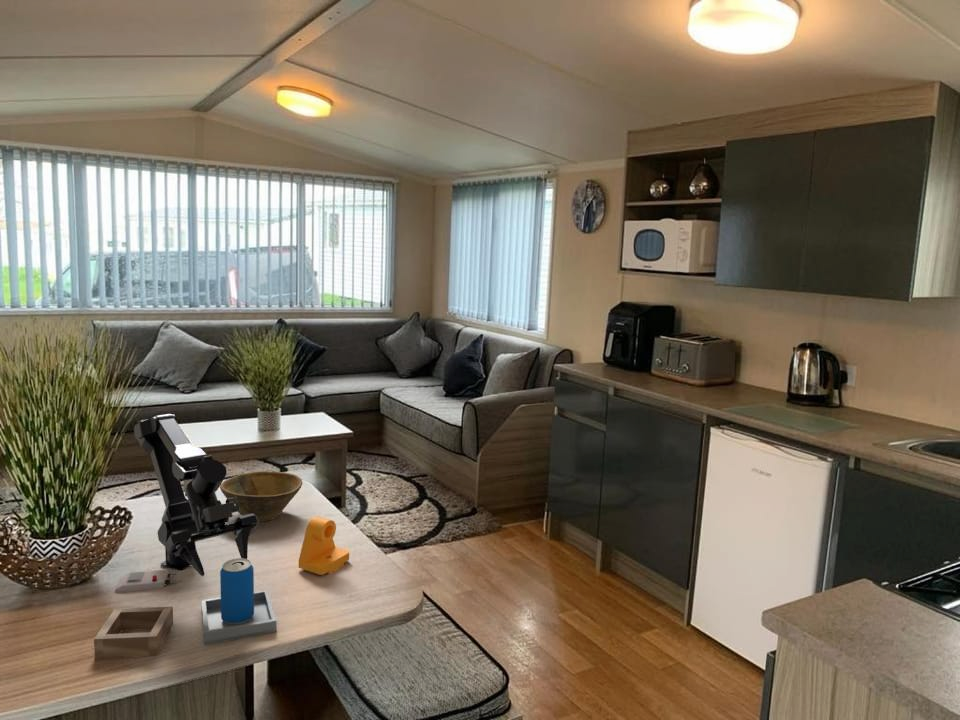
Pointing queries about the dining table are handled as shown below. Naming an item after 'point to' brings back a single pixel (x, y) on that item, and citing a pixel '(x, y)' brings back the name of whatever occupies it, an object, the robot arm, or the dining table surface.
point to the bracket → (321, 548)
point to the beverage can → (237, 591)
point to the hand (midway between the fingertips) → (224, 569)
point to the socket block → (134, 644)
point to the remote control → (144, 580)
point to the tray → (254, 626)
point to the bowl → (262, 492)
